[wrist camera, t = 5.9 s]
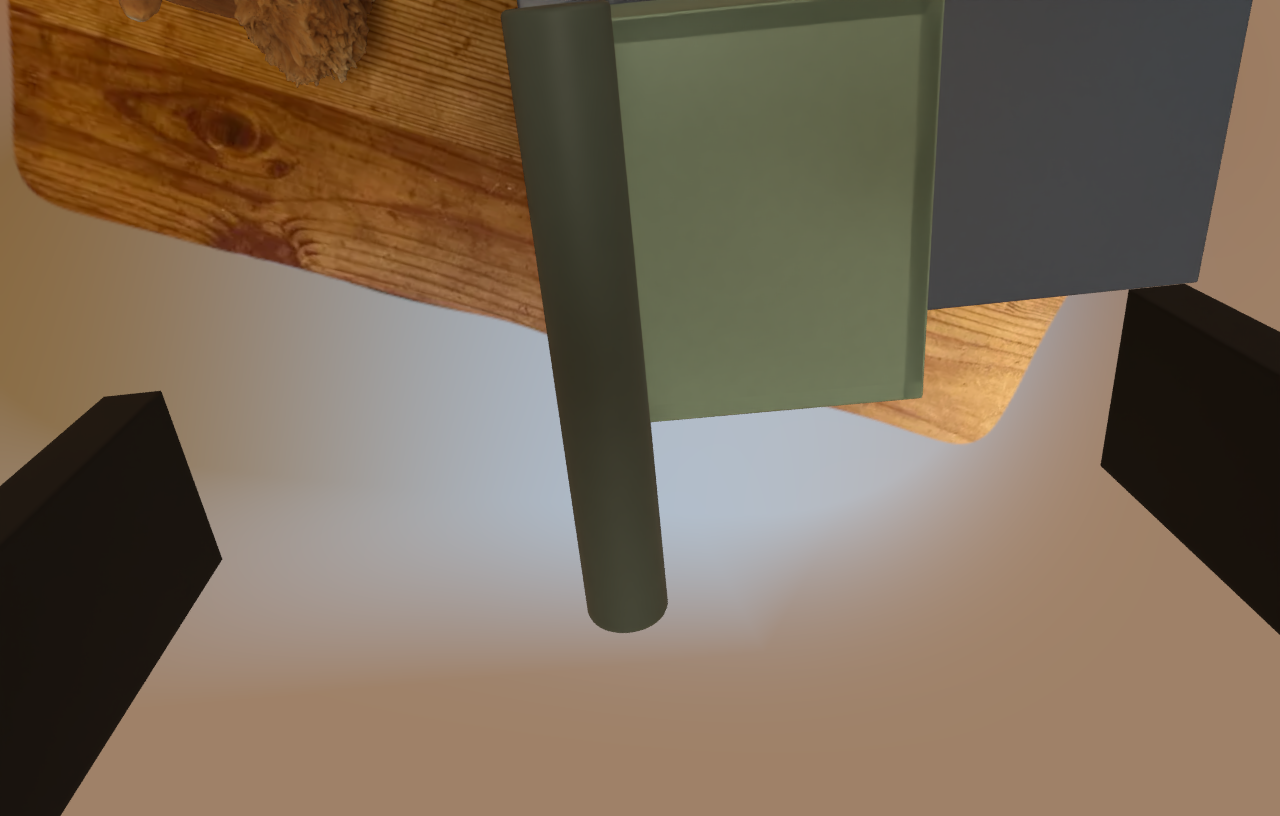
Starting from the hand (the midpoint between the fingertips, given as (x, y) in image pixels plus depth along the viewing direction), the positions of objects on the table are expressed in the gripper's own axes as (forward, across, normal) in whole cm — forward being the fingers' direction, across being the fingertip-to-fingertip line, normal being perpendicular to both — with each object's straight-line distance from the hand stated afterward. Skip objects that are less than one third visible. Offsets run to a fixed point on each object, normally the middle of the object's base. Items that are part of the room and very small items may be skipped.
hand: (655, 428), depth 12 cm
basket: (+12, +7, 0) cm, 14 cm away
